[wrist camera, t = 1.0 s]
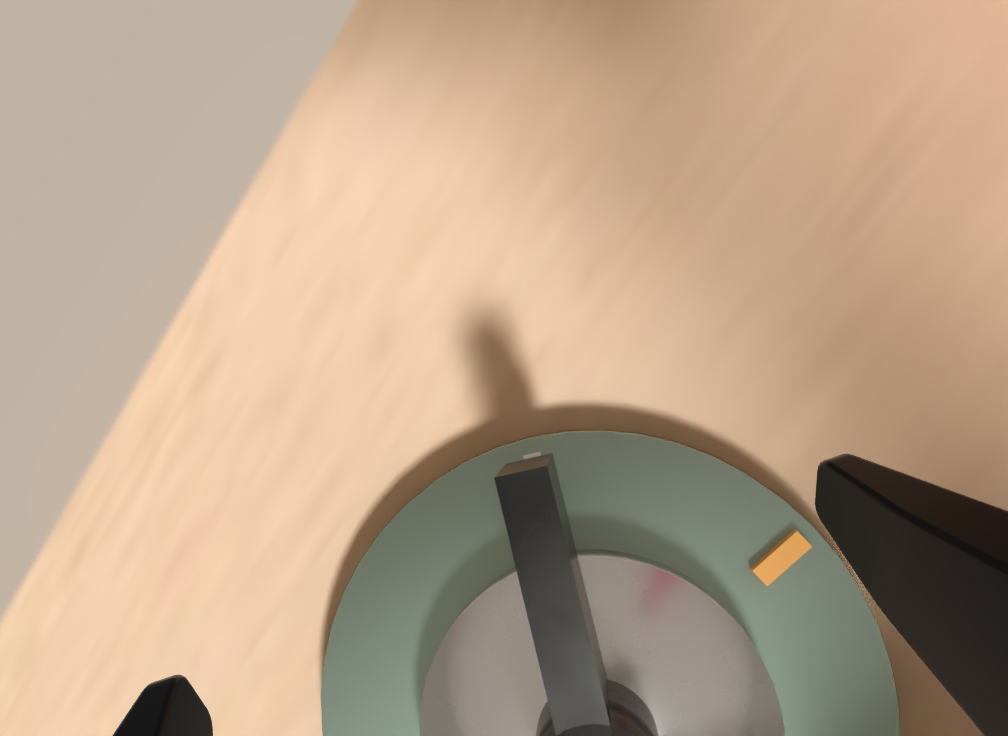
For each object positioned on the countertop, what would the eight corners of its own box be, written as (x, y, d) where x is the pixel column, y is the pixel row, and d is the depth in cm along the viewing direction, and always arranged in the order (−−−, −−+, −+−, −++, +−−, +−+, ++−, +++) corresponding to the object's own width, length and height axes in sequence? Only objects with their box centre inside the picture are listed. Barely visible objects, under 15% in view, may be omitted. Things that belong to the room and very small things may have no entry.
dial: (816, 869, 23) (863, 972, 19) (470, 920, 25) (447, 1027, 21) (703, 415, 24) (726, 424, 20) (369, 491, 25) (328, 515, 21)
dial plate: (951, 939, 24) (972, 972, 23) (398, 1014, 26) (389, 1048, 25) (808, 372, 25) (820, 372, 23) (278, 495, 27) (262, 501, 26)
